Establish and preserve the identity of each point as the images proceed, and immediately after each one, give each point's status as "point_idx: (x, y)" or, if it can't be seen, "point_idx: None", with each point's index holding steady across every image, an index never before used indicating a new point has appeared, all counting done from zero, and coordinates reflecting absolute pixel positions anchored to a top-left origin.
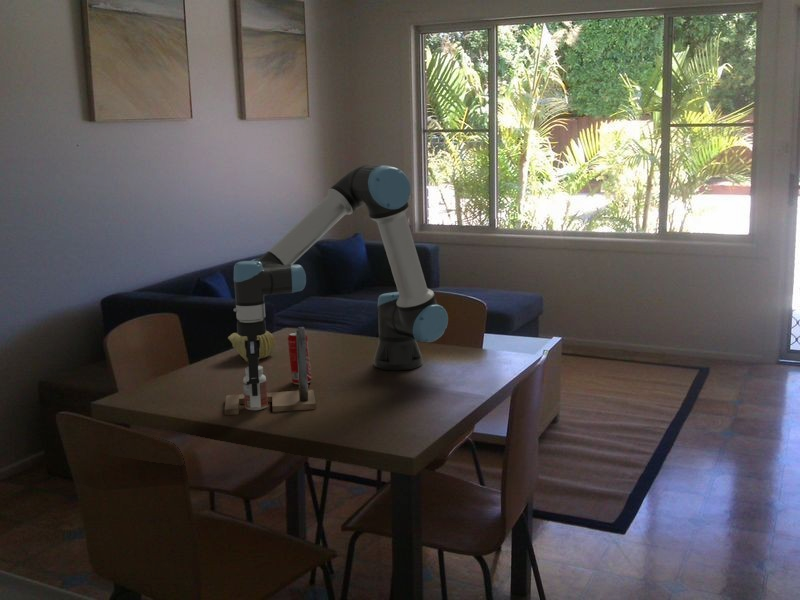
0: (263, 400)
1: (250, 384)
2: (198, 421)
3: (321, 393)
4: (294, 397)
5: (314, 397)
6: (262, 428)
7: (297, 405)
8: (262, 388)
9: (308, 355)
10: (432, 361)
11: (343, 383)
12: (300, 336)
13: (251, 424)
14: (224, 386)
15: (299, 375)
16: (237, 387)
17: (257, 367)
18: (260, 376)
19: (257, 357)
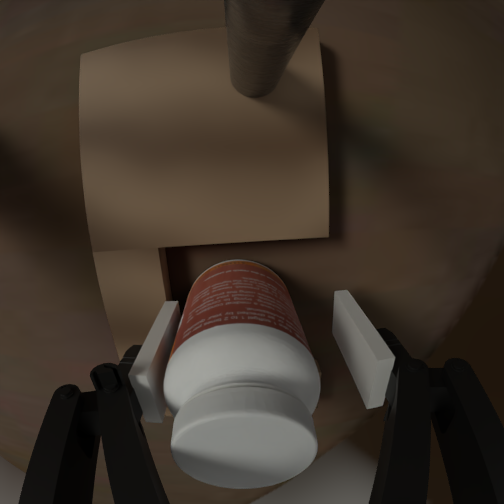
0: (281, 288)
1: (383, 397)
2: (346, 437)
3: (82, 34)
4: (192, 126)
5: (212, 29)
6: (475, 258)
7: (325, 111)
8: (293, 322)
9: None
10: None
11: (5, 3)
12: None
13: (435, 298)
14: (18, 392)
15: (298, 37)
16: (15, 363)
17: (501, 427)
18: (282, 379)
19: (499, 495)
